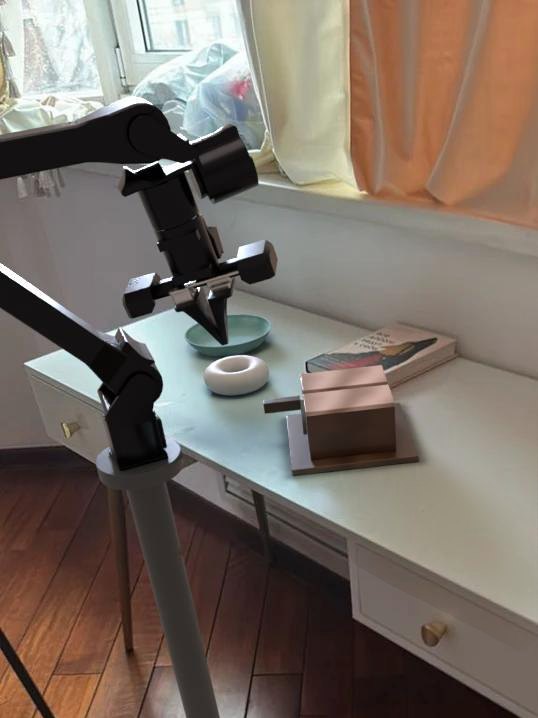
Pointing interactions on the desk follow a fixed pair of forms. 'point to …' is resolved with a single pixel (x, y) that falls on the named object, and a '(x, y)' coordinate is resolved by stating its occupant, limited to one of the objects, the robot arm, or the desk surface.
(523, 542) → the desk surface
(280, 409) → the knife
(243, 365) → the donut
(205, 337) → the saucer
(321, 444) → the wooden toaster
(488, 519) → the desk surface
